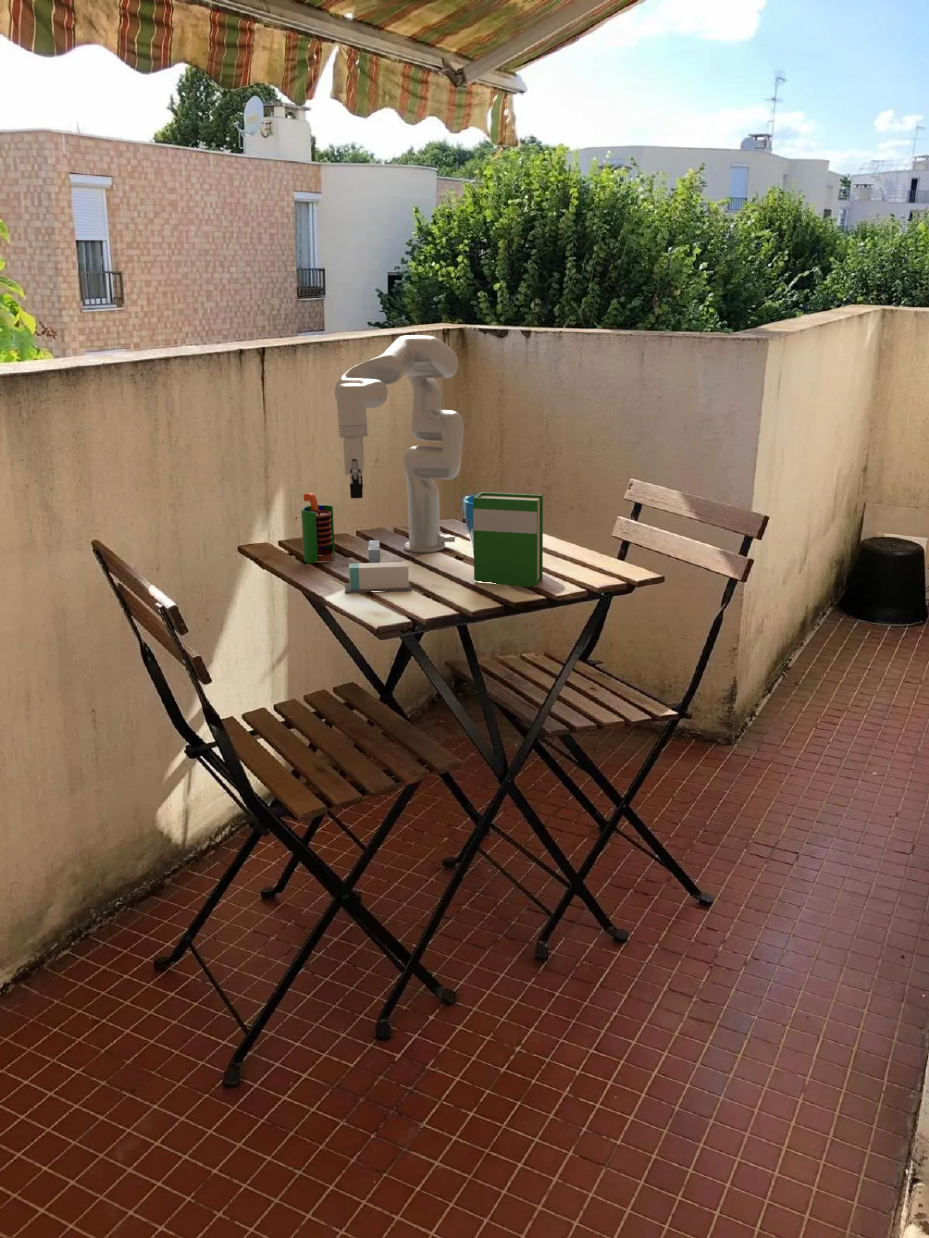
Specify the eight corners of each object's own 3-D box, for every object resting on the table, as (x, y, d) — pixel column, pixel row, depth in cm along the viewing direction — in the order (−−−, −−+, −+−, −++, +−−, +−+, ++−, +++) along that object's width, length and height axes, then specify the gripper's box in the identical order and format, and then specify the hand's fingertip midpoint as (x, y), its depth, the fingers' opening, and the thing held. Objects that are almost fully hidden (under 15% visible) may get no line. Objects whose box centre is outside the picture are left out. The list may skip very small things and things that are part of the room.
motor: (327, 564, 324) (323, 498, 317) (299, 563, 326) (294, 497, 319) (338, 555, 333) (334, 490, 327) (310, 554, 335) (306, 489, 328)
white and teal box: (408, 582, 304) (407, 561, 302) (408, 587, 299) (408, 566, 297) (350, 584, 303) (349, 563, 301) (350, 589, 299) (348, 568, 297)
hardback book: (542, 579, 306) (543, 494, 298) (536, 587, 299) (537, 500, 292) (481, 575, 311) (480, 492, 303) (474, 583, 304) (473, 497, 296)
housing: (380, 566, 321) (379, 537, 318) (380, 582, 306) (379, 552, 303) (370, 566, 321) (369, 537, 318) (369, 583, 306) (368, 553, 303)
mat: (411, 582, 305) (411, 580, 305) (411, 591, 298) (411, 589, 298) (346, 584, 304) (345, 583, 304) (344, 593, 297) (344, 591, 297)
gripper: (339, 425, 299) (343, 487, 305) (338, 437, 283) (342, 502, 289) (367, 424, 300) (370, 486, 306) (367, 436, 284) (370, 500, 290)
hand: (356, 493), depth 297 cm, fingers open, 9 cm apart
